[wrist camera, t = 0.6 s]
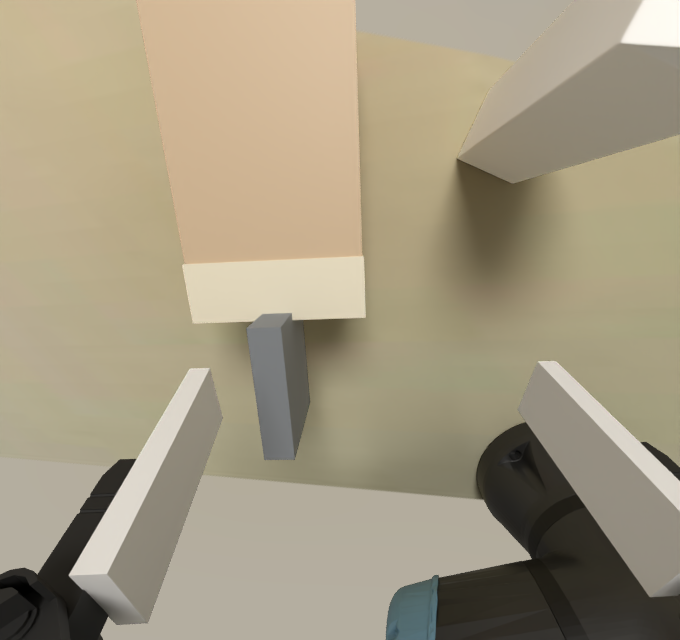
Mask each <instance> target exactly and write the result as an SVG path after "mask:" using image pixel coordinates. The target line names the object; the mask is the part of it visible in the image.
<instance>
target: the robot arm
mask: <svg viewBox="0 0 680 640" xmlns="http://www.w3.org/2000/svg"><path fill="white" fill-rule="evenodd" d="M518 411H519V413H520V414H521V416H522V417H523V418H524V420H525V421H526V423H523V424H520V425H517V426H515V427H513V428H511V429H509V430H507V431H506V432H504V433H503V434H501V435H500V436H499V437H497V438H496V439H495V440H494V441H493V442H492V443H491V444H490V445H489V447H488V448H487V449H486V451H485V452H484V454H483V456H482V458H481V460H480V463H479V466H478V471H477V482H478V487H479V490H480V492H481V494H482V497H483V499H484V501H485V503H486V505H487V507H488V509H489V510H490V512H491V513H492V515H493V516H494V517H495V518H496V519H497V520H498V521H499V522H500V523H501V524H502V525H503V526H504V527H505V528H506V529H507V530H508V531H509V533H510V534H511V535H512V536H513V537H514V538H515V539H516V540H517V541H518V542H519V543H520V544H521V545H522V546H523V547H524V548H525V549H526V551H527V552H528V553H529V554H530V556H531V558H532V559H531V560H526V561H519V562H514V563H509V564H504V565H500V566H495V567H490V568H485V569H480V570H475V571H470V572H465V573H460V574H456V575H451V576H446V577H441V578H439V576H438V575H434V576H433V577H432V579H430V580H426V581H422V582H419V583H415V584H412V585H408V586H404V587H402V588H400V589H399V590H398V591H397V592H396V593H395V594H394V596H393V598H392V600H391V603H390V606H389V611H388V618H387V627H386V640H680V467H679V466H677V465H676V464H675V463H674V462H673V461H672V460H671V459H670V458H669V457H668V456H667V455H665V454H664V453H662V452H660V451H659V450H657V449H656V448H654V447H653V446H651V445H650V444H648V443H647V442H639V441H638V440H637V439H636V438H635V437H634V436H633V435H632V434H631V433H630V432H629V431H628V430H627V429H626V428H624V427H623V426H622V425H621V424H620V423H619V422H618V421H617V420H616V419H615V418H614V417H613V416H612V415H611V414H610V413H609V412H608V411H607V410H606V409H605V408H604V407H603V406H602V405H601V404H600V403H599V402H598V401H597V400H596V399H595V398H594V397H592V396H591V395H590V394H589V393H588V392H587V391H586V390H585V389H584V388H583V387H582V386H581V385H580V384H579V383H578V382H577V381H576V380H575V379H574V378H573V377H572V376H571V375H570V374H569V373H568V372H567V371H566V370H565V369H564V368H563V367H562V366H560V365H559V364H558V363H557V362H556V361H537V364H536V366H535V369H534V371H533V373H532V376H531V378H530V381H529V383H528V386H527V388H526V390H525V393H524V395H523V398H522V400H521V403H520V405H519V407H518ZM222 419H223V417H222V413H221V409H220V405H219V401H218V397H217V394H216V390H215V386H214V382H213V378H212V374H211V371H210V368H192V369H189V371H188V373H187V374H186V376H185V378H184V379H183V381H182V383H181V385H180V386H179V388H178V390H177V391H176V393H175V395H174V396H173V398H172V400H171V402H170V403H169V405H168V407H167V408H166V410H165V412H164V414H163V415H162V417H161V419H160V420H159V422H158V424H157V425H156V427H155V429H154V431H153V432H152V434H151V436H150V437H149V439H148V441H147V443H146V444H145V446H144V448H143V449H142V451H141V453H140V455H139V456H138V458H137V459H120V460H119V461H118V462H117V463H116V464H115V465H113V466H112V467H111V468H110V469H109V470H108V471H107V472H106V473H105V474H104V475H103V476H102V477H101V479H100V480H99V482H98V483H97V485H96V486H95V488H94V489H93V491H92V492H91V496H90V497H89V498H87V500H86V501H85V503H84V505H83V506H82V508H81V509H80V513H79V514H77V515H76V517H75V518H74V520H73V521H72V523H71V524H70V526H69V528H68V529H67V530H66V532H65V533H64V535H63V536H62V538H61V540H60V541H59V542H58V544H57V546H56V547H55V549H54V550H53V552H52V553H51V555H50V556H49V558H48V559H47V561H46V562H45V564H44V565H43V567H42V569H41V570H40V572H39V573H38V575H37V574H36V573H35V572H34V571H32V570H29V569H26V568H19V569H13V570H9V571H7V572H5V573H3V574H0V640H103V638H102V637H101V635H100V633H101V631H102V629H103V626H104V624H105V622H106V620H107V618H108V617H109V618H110V619H111V620H113V622H114V623H115V624H117V625H122V624H141V623H148V621H149V619H150V616H151V613H152V610H153V608H154V605H155V602H156V599H157V597H158V594H159V591H160V588H161V586H162V583H163V580H164V577H165V575H166V572H167V569H168V567H169V564H170V561H171V558H172V555H173V553H174V550H175V547H176V544H177V542H178V539H179V536H180V533H181V531H182V528H183V525H184V523H185V520H186V517H187V515H188V512H189V509H190V506H191V504H192V501H193V498H194V495H195V493H196V490H197V487H198V484H199V482H200V479H201V476H202V473H203V471H204V468H205V465H206V463H207V460H208V457H209V454H210V452H211V449H212V446H213V443H214V441H215V438H216V435H217V432H218V430H219V427H220V424H221V421H222Z"/></svg>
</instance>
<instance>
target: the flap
mask: <svg viewBox="0 0 680 640" xmlns="http://www.w3.org/2000/svg"><path fill="white" fill-rule="evenodd" d="M136 3H137V8H138V13H139V19H140V24H141V30H142V35H143V40H144V46H145V51H146V57H147V62H148V68H149V73H150V78H151V84H152V89H153V95H154V100H155V106H156V111H157V116H158V122H159V127H160V133H161V138H162V144H163V149H164V154H165V160H166V165H167V171H168V176H169V181H170V187H171V192H172V198H173V203H174V209H175V214H176V219H177V225H178V230H179V236H180V241H181V247H182V252H183V257H184V263H185V264H182V267H183V273H184V278H185V283H186V289H187V294H188V299H189V305H190V310H191V316H192V321H193V323H222V322H252V321H254V322H253V323H252V324H251V325H250V326H248V327H247V328H246V330H247V337H248V344H249V351H250V359H251V366H252V373H253V380H254V388H255V395H256V402H257V409H258V417H259V424H260V431H261V438H262V446H263V453H264V460H295V457H296V453H297V449H298V446H299V442H300V438H301V434H302V430H303V427H304V423H305V419H306V415H307V412H308V408H309V404H310V396H309V384H308V373H307V361H306V349H305V337H304V325H303V320H312V319H342V318H366V313H365V276H364V256H362V227H361V191H360V156H359V120H358V85H357V50H356V14H355V0H136Z"/></svg>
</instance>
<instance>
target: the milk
mask: <svg viewBox="0 0 680 640" xmlns="http://www.w3.org/2000/svg"><path fill="white" fill-rule="evenodd" d="M679 134H680V0H574V1H573V2H572V3H571V4H570V5H569V6H568V7H567V8H566V9H565V11H563V13H562V14H561V15H560V16H559V17H558V18H557V19H556V20H555V21H554V22H553V23H552V24H551V25H550V26H549V27H548V28H547V29H546V30H545V31H544V33H543V34H542V35H541V36H540V37H539V38H538V39H537V40H536V41H535V42H534V43H533V44H532V45H531V46H530V47H529V48H528V49H527V50H526V52H525V53H524V54H523V55H522V56H521V57H520V58H519V59H518V60H517V61H516V62H515V63H514V64H513V65H512V66H511V67H510V68H509V69H508V70H507V71H506V72H505V74H504V75H503V76H502V77H501V78H500V79H499V80H498V81H497V82H496V83H495V84H494V85H493V86H492V87H491V88H490V89H489V91H488V93H487V95H486V97H485V99H484V101H483V103H482V105H481V108H480V110H479V112H478V114H477V116H476V118H475V120H474V123H473V125H472V127H471V129H470V131H469V133H468V135H467V138H466V140H465V142H464V144H463V146H462V148H461V150H460V153H459V155H458V157H457V159H459V160H461V161H463V162H465V163H468V164H470V165H472V166H474V167H477V168H479V169H481V170H483V171H485V172H488V173H490V174H492V175H494V176H496V177H499V178H501V179H503V180H505V181H508V182H510V183H512V184H513V183H517V182H520V181H524V180H527V179H530V178H534V177H537V176H541V175H544V174H547V173H551V172H554V171H558V170H561V169H564V168H568V167H571V166H574V165H578V164H581V163H585V162H588V161H591V160H595V159H598V158H602V157H605V156H608V155H612V154H615V153H618V152H622V151H625V150H629V149H632V148H635V147H639V146H642V145H646V144H649V143H652V142H656V141H659V140H663V139H666V138H669V137H673V136H676V135H679Z"/></svg>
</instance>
